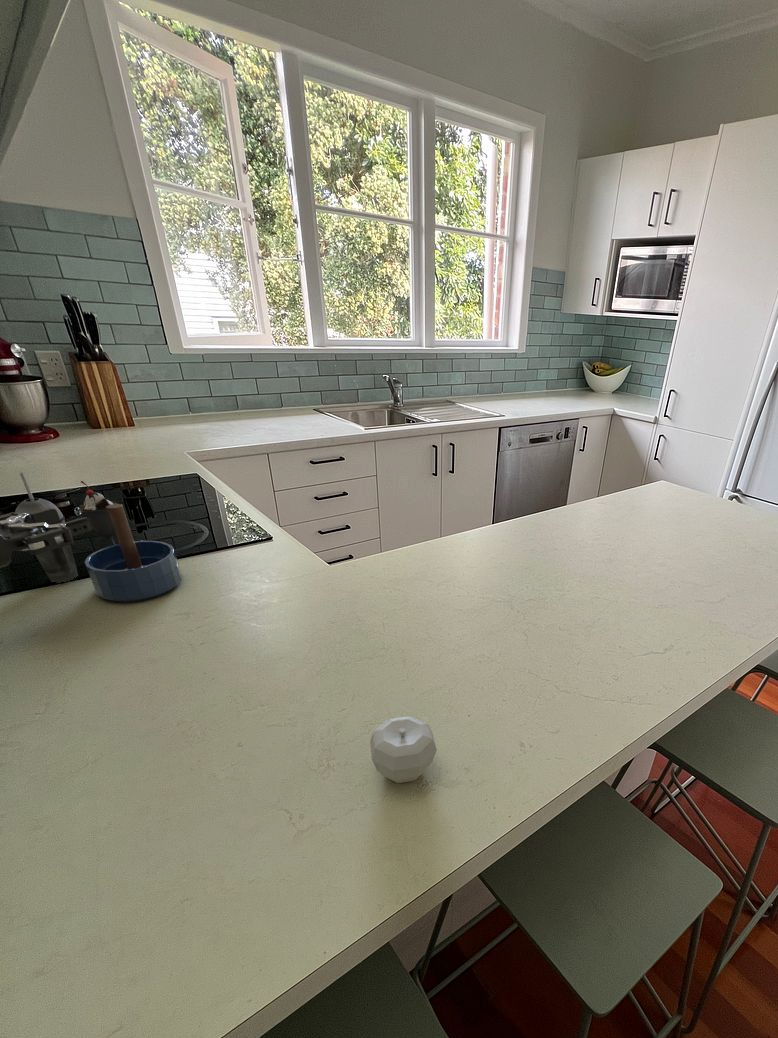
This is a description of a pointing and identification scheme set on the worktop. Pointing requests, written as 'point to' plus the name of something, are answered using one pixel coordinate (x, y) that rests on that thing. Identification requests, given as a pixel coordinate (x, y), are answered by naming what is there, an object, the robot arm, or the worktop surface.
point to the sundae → (98, 514)
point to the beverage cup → (61, 559)
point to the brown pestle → (124, 536)
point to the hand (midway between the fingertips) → (73, 518)
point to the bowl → (134, 572)
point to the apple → (402, 748)
